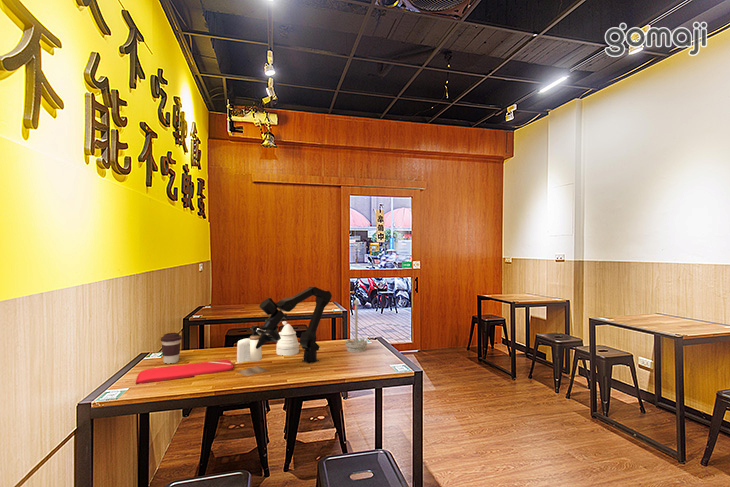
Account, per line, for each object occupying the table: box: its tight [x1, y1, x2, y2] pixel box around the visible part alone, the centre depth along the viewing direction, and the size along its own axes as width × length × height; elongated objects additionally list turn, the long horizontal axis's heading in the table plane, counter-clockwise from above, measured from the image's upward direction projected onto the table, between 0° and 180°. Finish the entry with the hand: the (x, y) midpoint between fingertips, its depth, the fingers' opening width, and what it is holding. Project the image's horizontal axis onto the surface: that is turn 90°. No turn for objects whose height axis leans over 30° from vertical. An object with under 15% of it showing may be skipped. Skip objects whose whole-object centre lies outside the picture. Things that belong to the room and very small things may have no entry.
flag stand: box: [344, 299, 368, 353], centre depth 225 cm, size 13×13×30 cm
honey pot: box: [275, 320, 300, 357], centre depth 219 cm, size 13×13×18 cm
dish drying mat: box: [135, 359, 234, 385], centre depth 181 cm, size 16×41×4 cm, turn 115°
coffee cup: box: [160, 332, 183, 365], centre depth 200 cm, size 10×10×15 cm
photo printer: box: [236, 337, 251, 363], centre depth 200 cm, size 10×4×12 cm, turn 123°
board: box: [235, 365, 269, 377], centre depth 182 cm, size 12×10×1 cm
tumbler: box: [249, 335, 263, 362], centre depth 179 cm, size 6×6×11 cm
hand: (253, 347), depth 178 cm, fingers closed on tumbler, 5 cm apart
